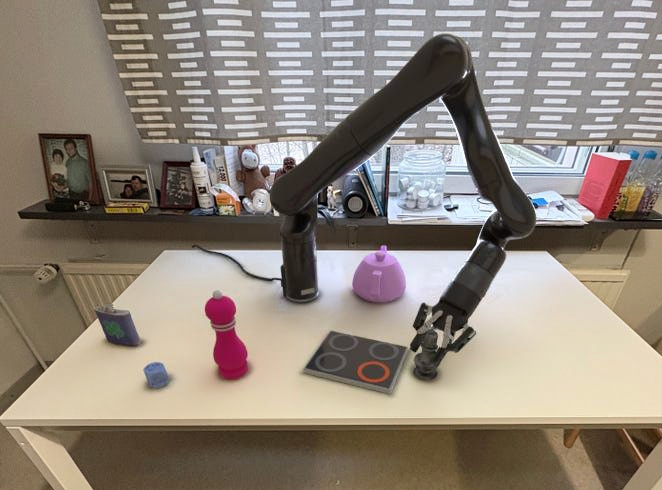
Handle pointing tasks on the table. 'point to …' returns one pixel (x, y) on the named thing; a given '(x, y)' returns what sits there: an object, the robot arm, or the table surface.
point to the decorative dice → (156, 374)
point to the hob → (357, 361)
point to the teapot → (379, 277)
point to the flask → (117, 326)
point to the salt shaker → (426, 357)
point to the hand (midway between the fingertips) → (422, 357)
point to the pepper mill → (226, 337)
